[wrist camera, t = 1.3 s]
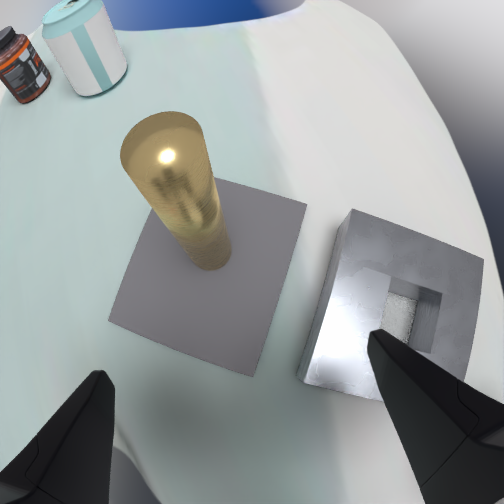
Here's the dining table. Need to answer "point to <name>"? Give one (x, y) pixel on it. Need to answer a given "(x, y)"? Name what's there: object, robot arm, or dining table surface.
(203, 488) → the dining table surface
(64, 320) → the dining table surface
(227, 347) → the mat
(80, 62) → the can
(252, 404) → the dining table surface
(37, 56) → the supplement bottle
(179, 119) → the pin
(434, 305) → the grey square hole block
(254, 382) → the dining table surface
